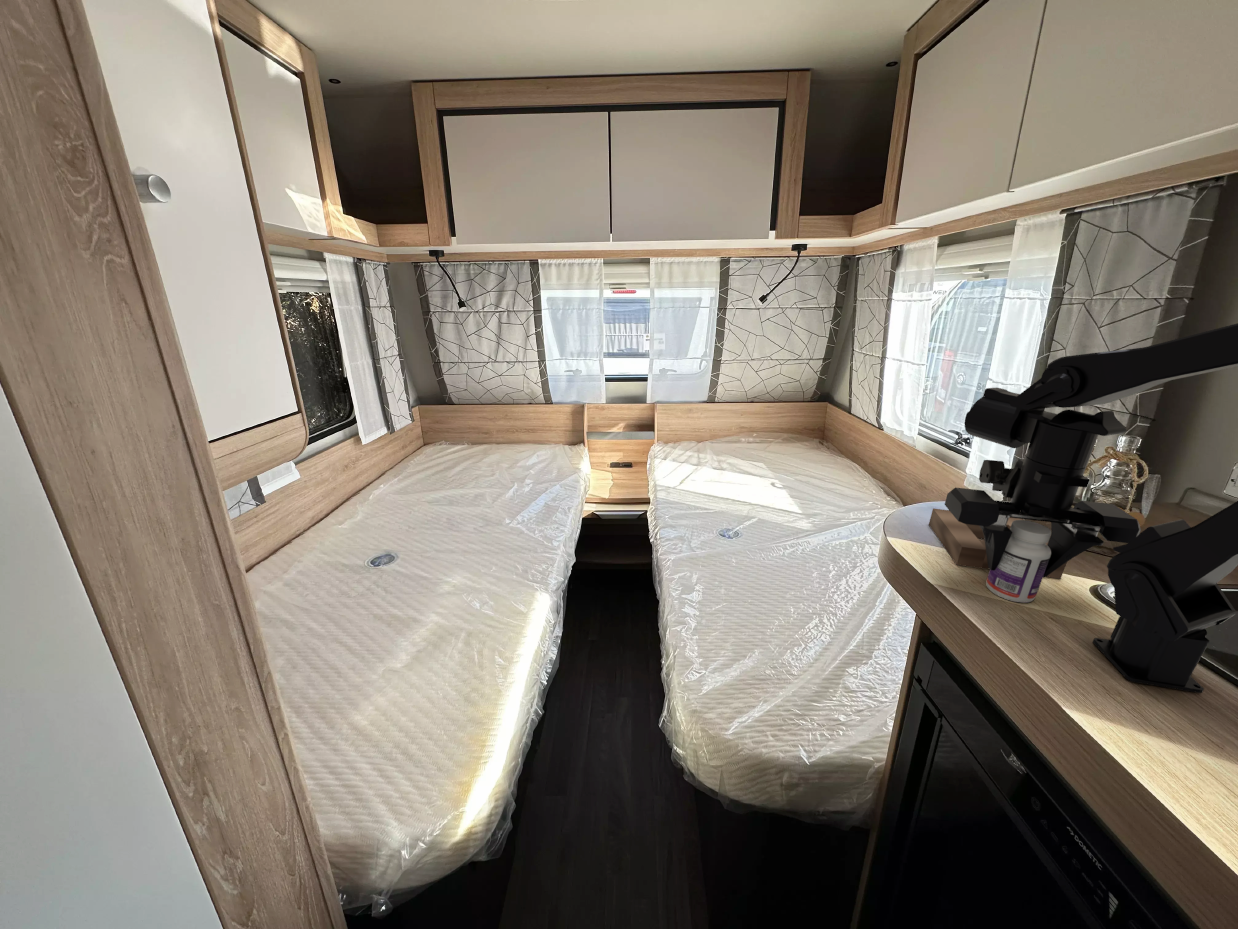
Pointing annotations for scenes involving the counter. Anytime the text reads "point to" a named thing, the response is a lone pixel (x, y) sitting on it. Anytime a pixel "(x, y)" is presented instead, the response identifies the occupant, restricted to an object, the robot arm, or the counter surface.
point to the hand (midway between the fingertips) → (1015, 572)
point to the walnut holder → (967, 540)
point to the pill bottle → (1021, 563)
